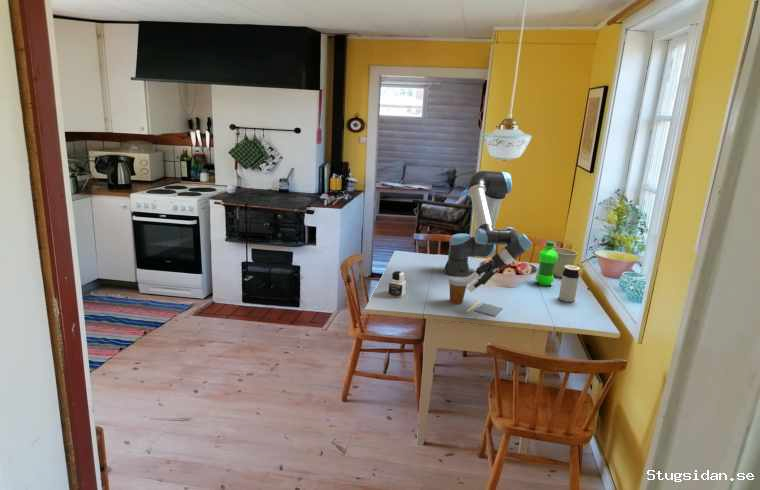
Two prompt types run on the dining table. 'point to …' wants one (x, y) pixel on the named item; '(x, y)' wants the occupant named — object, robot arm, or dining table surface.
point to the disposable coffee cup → (457, 289)
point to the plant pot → (563, 260)
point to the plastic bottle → (546, 265)
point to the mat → (488, 309)
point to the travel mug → (569, 283)
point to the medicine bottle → (397, 285)
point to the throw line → (472, 307)
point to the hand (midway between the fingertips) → (467, 285)
